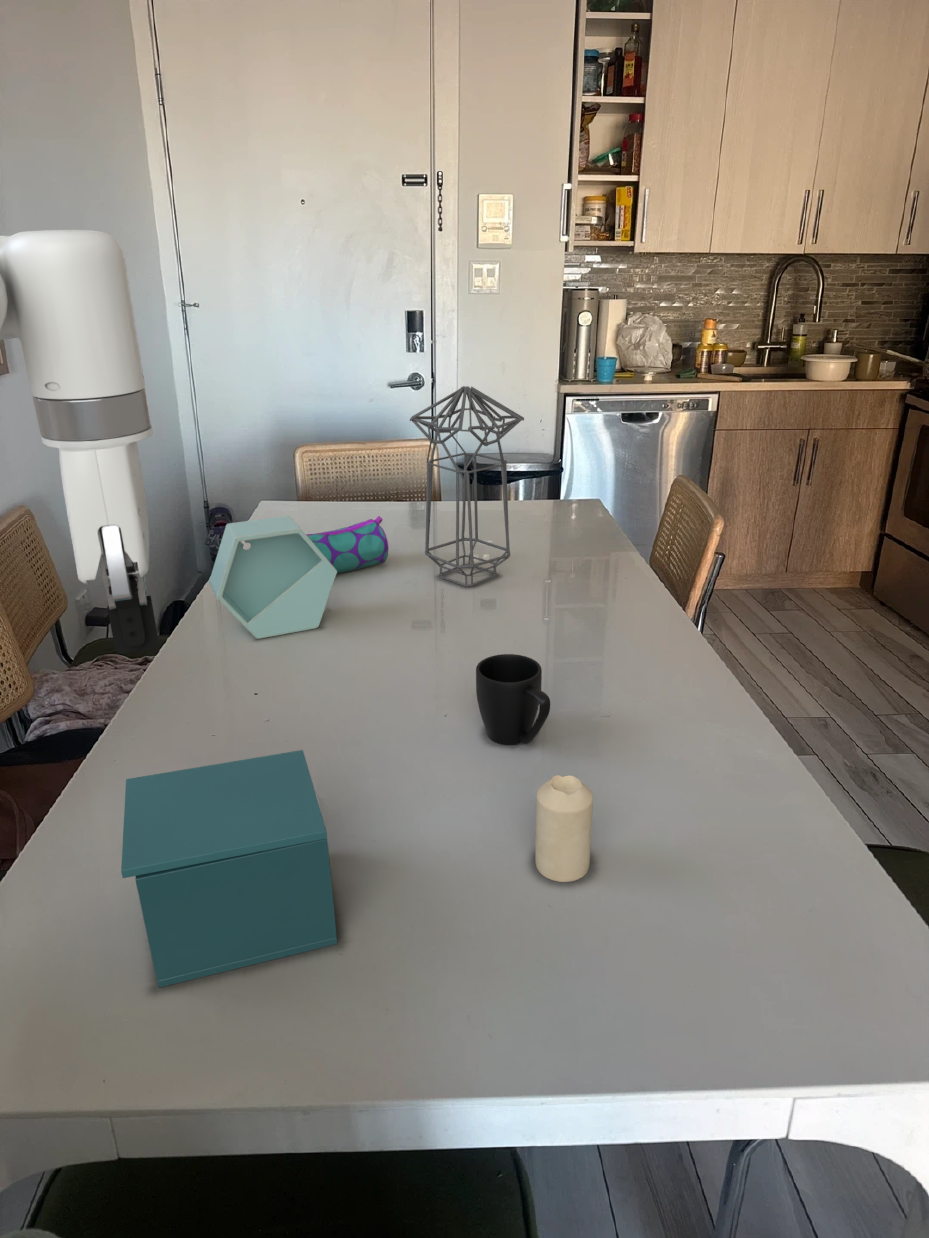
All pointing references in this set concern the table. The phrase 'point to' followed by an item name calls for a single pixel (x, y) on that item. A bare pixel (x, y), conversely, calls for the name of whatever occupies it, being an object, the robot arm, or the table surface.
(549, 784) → the candle
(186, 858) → the cool box lid
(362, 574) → the table surface
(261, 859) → the teal open box
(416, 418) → the geometric lantern
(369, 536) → the pencil case
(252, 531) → the planter
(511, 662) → the mug
